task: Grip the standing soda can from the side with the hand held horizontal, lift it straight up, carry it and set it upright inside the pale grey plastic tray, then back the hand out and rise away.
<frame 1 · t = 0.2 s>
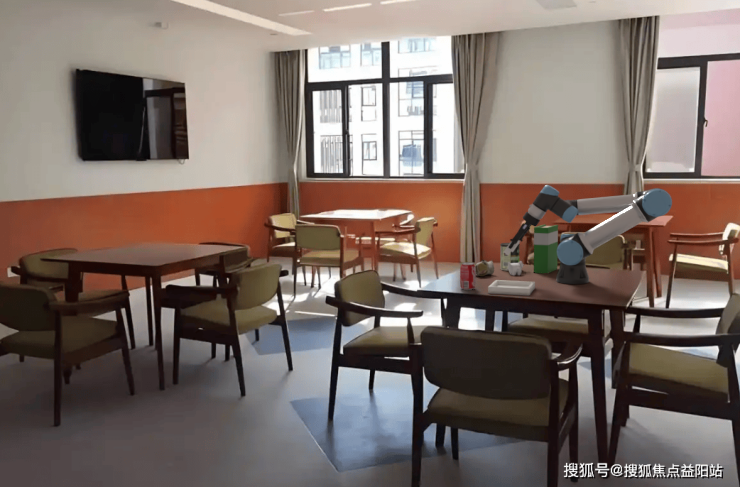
hand: (508, 252, 315), 15 cm above the table, fingers open, 13 cm apart
elephant figurine: (514, 274, 343), on the table
coffee can: (509, 269, 359), on the table
ceramic sculpture: (482, 276, 341), on the table
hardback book: (545, 271, 352), on the table
soda can: (467, 289, 305), on the table
tray: (511, 290, 299), on the table
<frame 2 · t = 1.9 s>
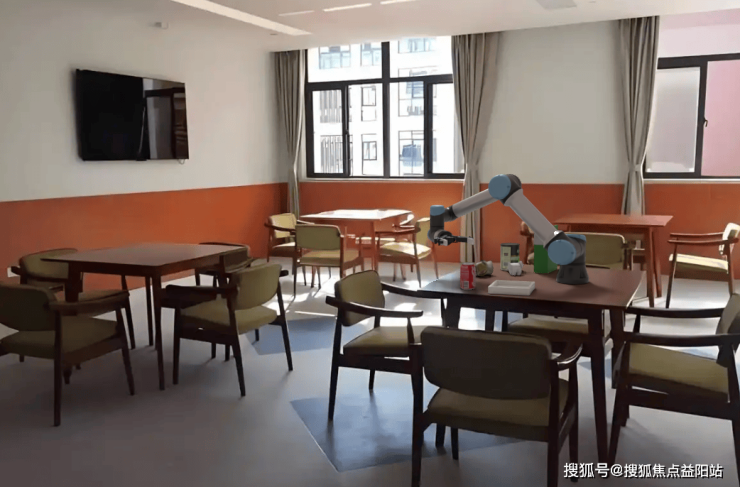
hand: (460, 242, 312), 21 cm above the table, fingers open, 13 cm apart
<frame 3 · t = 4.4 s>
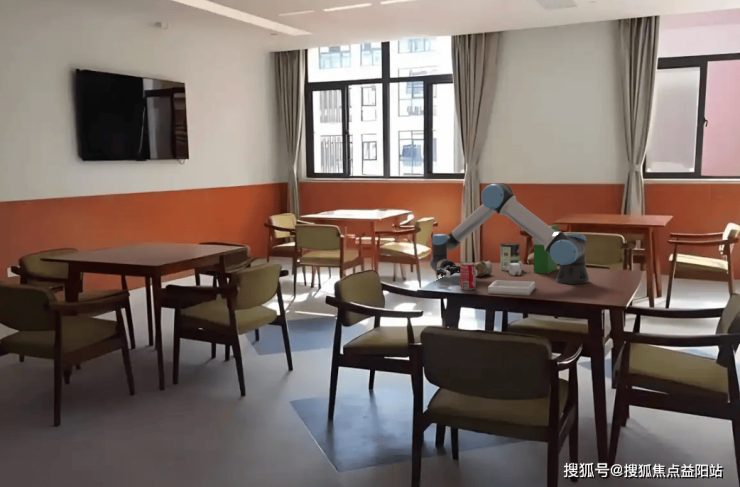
hand: (463, 273, 309), 6 cm above the table, fingers open, 13 cm apart
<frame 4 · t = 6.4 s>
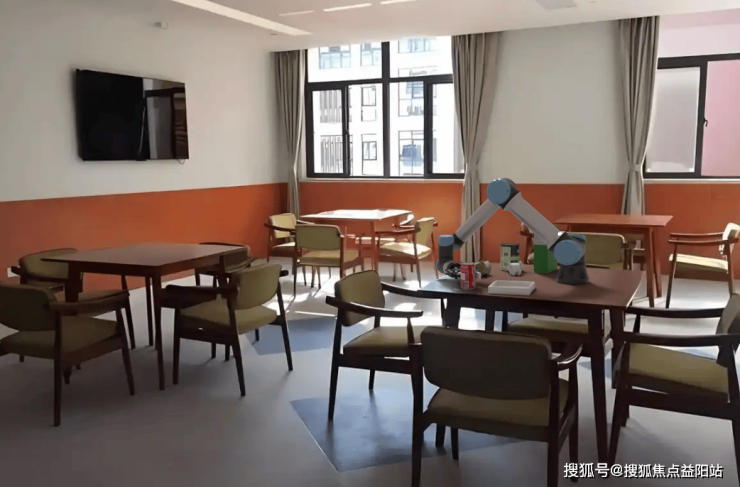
hand: (472, 276, 300), 7 cm above the table, fingers closed on soda can, 7 cm apart
soda can: (467, 289, 305), on the table, touching gripper
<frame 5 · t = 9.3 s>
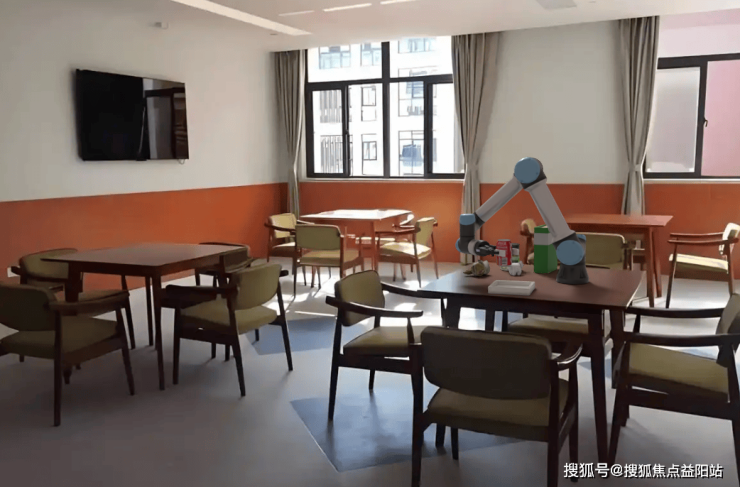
hand: (511, 252, 293), 18 cm above the table, fingers closed on soda can, 7 cm apart
soda can: (504, 266, 299), point 11 cm above the table, touching gripper
when the fingers open (8 cm above the table, at t = 12.3 s): soda can stays where it is, resting on tray.
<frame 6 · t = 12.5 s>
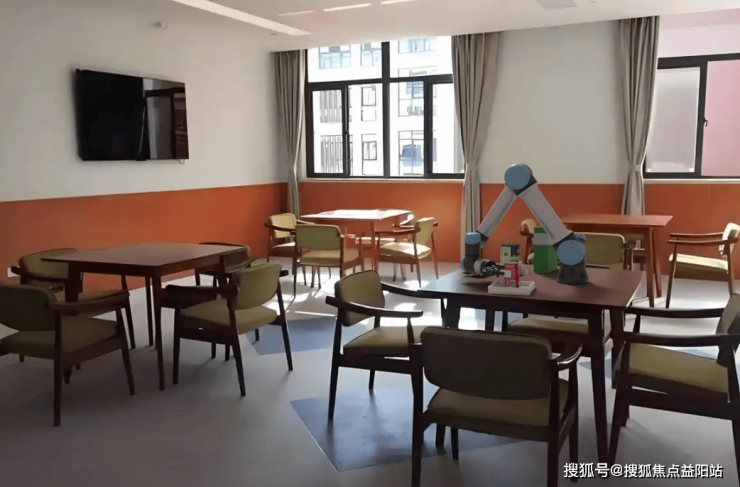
hand: (518, 273, 294), 8 cm above the table, fingers open, 9 cm apart
soda can: (511, 288, 299), point 1 cm above the table, touching tray
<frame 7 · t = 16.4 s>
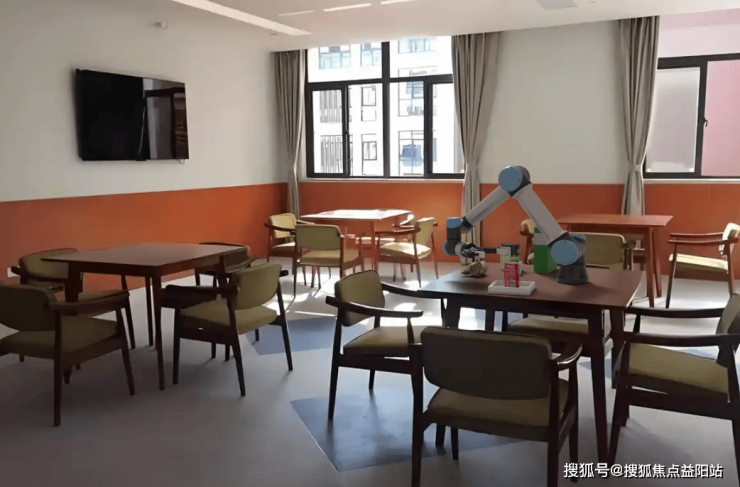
hand: (495, 253, 306), 16 cm above the table, fingers open, 13 cm apart
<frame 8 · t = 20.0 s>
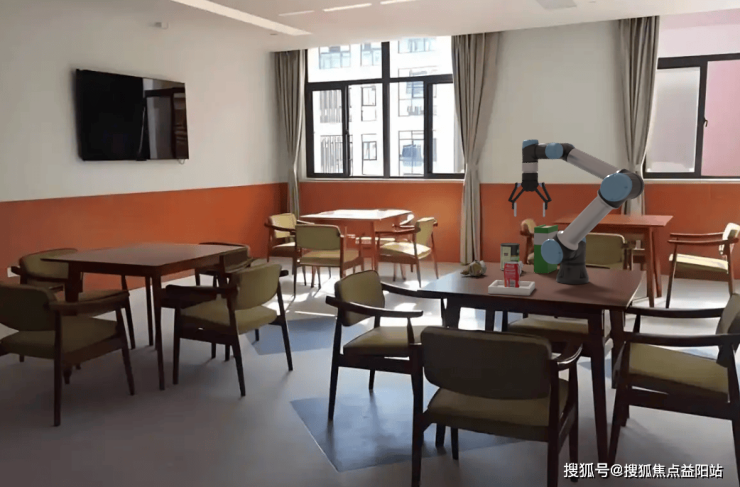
hand: (529, 216, 318), 32 cm above the table, fingers open, 13 cm apart
at the end: soda can inside the target area on the tray (0.0 cm from its centre), point 0.8 cm above the tray's base; soda can tilted 0°; the gripper is holding nothing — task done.
